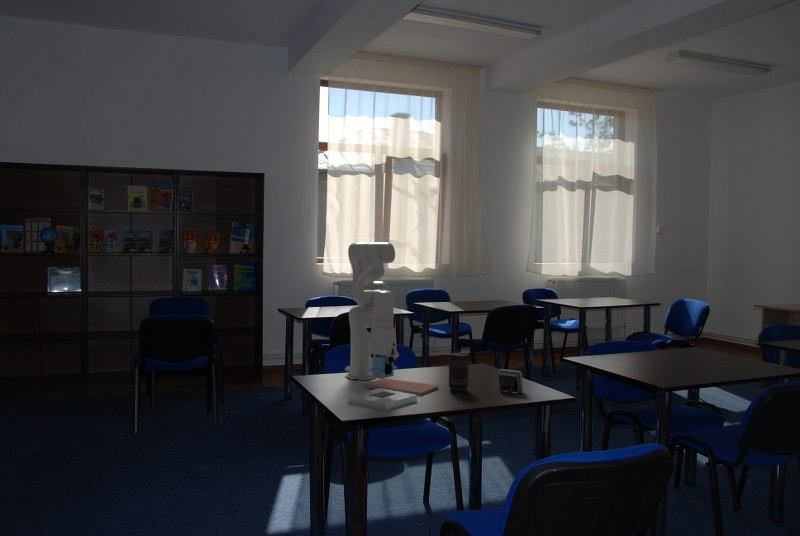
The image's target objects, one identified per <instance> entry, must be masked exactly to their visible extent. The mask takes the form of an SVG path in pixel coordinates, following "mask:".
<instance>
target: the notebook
mask: <svg viewBox="0 0 800 536" xmlns="http://www.w3.org/2000/svg"><path fill="white" fill-rule="evenodd" d="M362 386H363V388H364V387H366V388H367V389H368V390H372V389H373V390H374V389H378V388H383V389H388V390H393V391H398V392H404V393H409V394H414V395H417V397H418V396H419V397H421V396H424V395H426V394H428V393H430V392H433V391H436V390H438V389H439V387H440V385H437V384H430V383H423V382H417V381H415V382H414V381H408V380H401V379H391V378H382V379H380V378H378V379H376V380H373V381H370V382H365V383H364V384H362ZM366 388H365V389H366ZM370 388H372V389H370Z"/></svg>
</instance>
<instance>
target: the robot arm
mask: <svg viewBox="0 0 800 536" xmlns="http://www.w3.org/2000/svg"><path fill="white" fill-rule="evenodd" d="M347 249H348V250H347V251H348V252H347V254H348V255H347V256H348V260H349V264H350V267H351V270H352V292H351V293H352V299H353V301H354V302H356V303H357V306H353V307H351V308H349V309H350V310H349V312H348V321H349V328H350V331H349V332H350V365H347V366H346V367H345V368H344V371H345V372H348V374H346V378H347V379H348V378H350V379H349V380H352V379H358V380H357V381H370V380H374V379H375V378H374V377H372V372H371V371H369V369H371V368H372V357H375V356H385V357H386V363H387V364H385V374H386V375H388V374H392V363H393V362H394V361H396V359H398V357H400V353H399V352H398V350H397V334H396V331H395V330H396V329H395V328H394V306H395V305H394V303H395V295H394V293H393V291H391V290H390V289H389V286H388V284H387V283H386V282H385V281H380V280H381V278H383V277H384V275H385V266H384V263H385V264H391V263H393V262H394V261H395V259H396V250H395V247H394V245H393V244H392V243H391V242H380V241H379V242H375V241H374V242H373V241H372V242H371V241H369V242H367V241H366V242H359V241H358V242H353V243H351V244H350V245H348V248H347ZM369 328H371V329H370V331H368V329H369ZM389 358H390V359H389ZM369 379H370V380H369Z"/></svg>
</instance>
